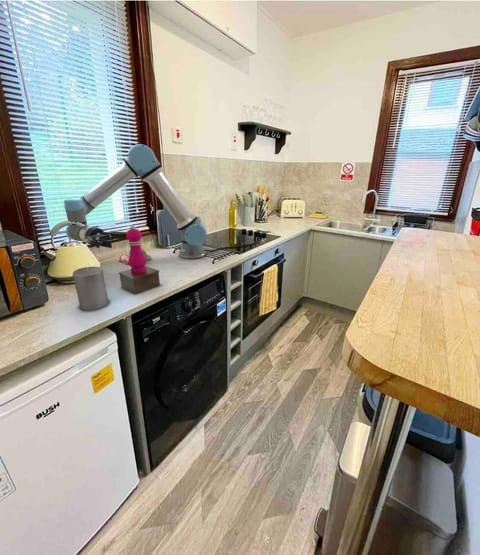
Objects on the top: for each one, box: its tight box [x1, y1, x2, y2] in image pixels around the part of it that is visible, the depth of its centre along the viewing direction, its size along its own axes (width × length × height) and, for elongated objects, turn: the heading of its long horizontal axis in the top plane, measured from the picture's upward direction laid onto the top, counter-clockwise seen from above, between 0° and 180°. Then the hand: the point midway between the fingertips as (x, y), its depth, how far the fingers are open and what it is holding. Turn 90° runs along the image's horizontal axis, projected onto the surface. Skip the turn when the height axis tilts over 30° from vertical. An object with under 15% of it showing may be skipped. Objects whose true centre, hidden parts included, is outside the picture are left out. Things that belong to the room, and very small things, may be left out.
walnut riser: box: [118, 265, 161, 295], centre depth 119 cm, size 12×11×7 cm
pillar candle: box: [72, 266, 109, 311], centre depth 101 cm, size 10×10×15 cm
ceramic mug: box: [128, 248, 152, 260], centre depth 153 cm, size 11×8×8 cm
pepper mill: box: [125, 224, 147, 274], centre depth 114 cm, size 7×7×20 cm
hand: (124, 241), depth 116 cm, fingers open, 13 cm apart
